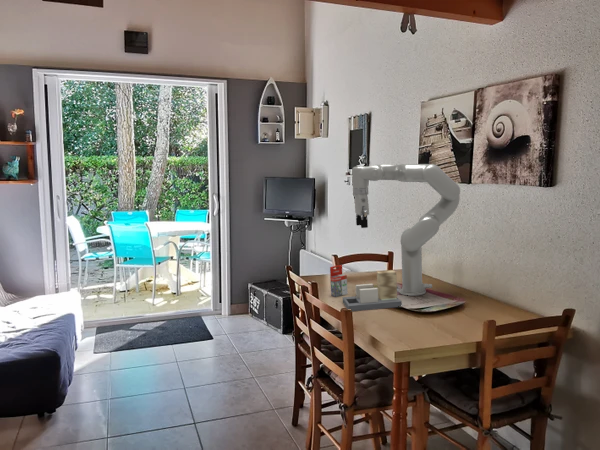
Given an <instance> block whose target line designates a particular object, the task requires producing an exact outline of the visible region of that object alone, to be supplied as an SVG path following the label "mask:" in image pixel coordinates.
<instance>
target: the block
mask: <svg viewBox="0 0 600 450" xmlns="http://www.w3.org/2000/svg"><path fill="white" fill-rule="evenodd" d="M397 283H398V282H397V271H395V269H393V270H392V269H390V270H380V271H376V284H377V285H376V288H378V298H379V299H390V298H398V285H397Z"/></svg>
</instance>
